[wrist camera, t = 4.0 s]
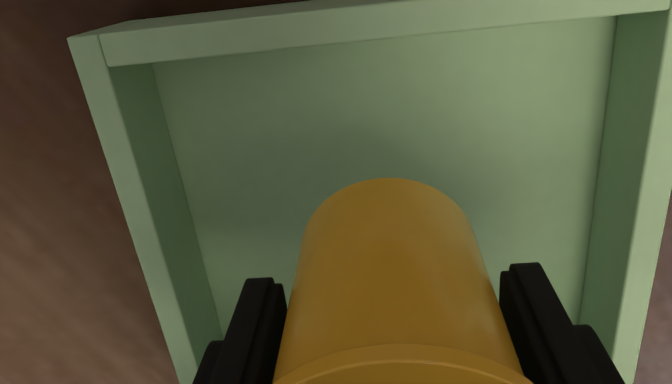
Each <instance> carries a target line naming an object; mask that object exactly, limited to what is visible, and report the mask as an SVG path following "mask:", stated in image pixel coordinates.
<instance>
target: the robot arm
mask: <svg viewBox="0 0 672 384" xmlns="http://www.w3.org/2000/svg"><path fill="white" fill-rule="evenodd" d="M499 306H500V308H501V311H502V314H503V317H504V320H505V322H506V325H507V328H508V331H509V334H510V337H511V339H512V342H513V345H514V348H515V351H516V354H517V356H518V359H519V362H520V365H521V368H522V370H523V373H524V376H525V377H526V378H527V379H529V380H530V381H531V382H532V383H534V384H625V382H624V380H623V379H622V377H621V375H620V373H619V372H618V370H617V368H616V366H615V365H614V363H613V361H612V360H611V358H610V356H609V354H608V353H607V351H606V349H605V348H604V346H603V344H602V342H601V341H600V339H599V337H598V336H597V334H596V332H595V331H594V330H593V328H592V327H591V326H589V325H588V324H581V325H573V324H572V322H571V320H570V318H569V316H568V314H567V313H566V311H565V309H564V307H563V305H562V303H561V301H560V299H559V298H558V296H557V294H556V292H555V290H554V288H553V286H552V284H551V283H550V281H549V279H548V277H547V275H546V273H545V271H544V270H543V268H542V266H541V264H540V263H538V262H530V263H512V264H510V266H509V271H501V273H500V287H499ZM287 310H288V309H287V303H286V298H285V293H284V288H283V285H282V283H275V282H274V279H273V278H272V277H263V278H248V279H246V281H245V283H244V285H243V288H242V291H241V294H240V296H239V299H238V302H237V305H236V308H235V310H234V313H233V316H232V319H231V321H230V324H229V327H228V330H227V332H226V335H225V338H224V340H214V341H211V342H210V343H209V344H208V346H207V348H206V350H205V353H204V355H203V358H202V360H201V363H200V365H199V368H198V370H197V373H196V375H195V378H194V380H193V383H192V384H272V383H273V378H274V373H275V368H276V363H277V359H278V354H279V349H280V344H281V339H282V334H283V329H284V324H285V320H286V315H287Z"/></svg>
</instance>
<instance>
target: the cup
mask: <svg viewBox="0 0 672 384" xmlns="http://www.w3.org/2000/svg"><path fill="white" fill-rule="evenodd" d="M272 384H534V383H532V382H531V381H530V380H529V379H527V378H526V377H525V376H524V373H523V370H522V368H521V365H520V362H519V359H518V356H517V354H516V351H515V348H514V345H513V342H512V339H511V337H510V334H509V331H508V328H507V325H506V322H505V320H504V317H503V314H502V311H501V308H500V306H499V303H498V300H497V297H496V294H495V291H494V289H493V286H492V283H491V280H490V277H489V274H488V272H487V269H486V266H485V263H484V260H483V258H482V255H481V252H480V249H479V246H478V243H477V241H476V238H475V235H474V232H473V229H472V227H471V224H470V222H469V220H468V219H467V217H466V215H465V214H464V212H463V211H462V210H461V209H460V207H459V206H458V205H457V204H456V203H455V202H454V201H453V200H452V199H451V198H449V197H448V196H447V195H445V194H444V193H442V192H441V191H439V190H437V189H435V188H433V187H431V186H429V185H426V184H423V183H421V182H418V181H413V180H409V179H403V178H376V179H369V180H365V181H361V182H357V183H355V184H352V185H350V186H347V187H345V188H343V189H341V190H340V191H338V192H336V193H334V194H333V195H332V196H330V197H329V198H328V199H326V200H325V201H324V202H323V203H322V204H321V205H320V206H319V207H318V208H317V209H316V211H315V212H314V213H313V214H312V216H311V218H310V219H309V221H308V223H307V225H306V228H305V230H304V233H303V237H302V242H301V246H300V251H299V256H298V261H297V266H296V271H295V276H294V281H293V285H292V290H291V295H290V300H289V305H288V310H287V315H286V320H285V324H284V329H283V334H282V339H281V344H280V349H279V354H278V359H277V363H276V368H275V373H274V378H273V383H272Z"/></svg>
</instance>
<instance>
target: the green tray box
mask: <svg viewBox="0 0 672 384" xmlns="http://www.w3.org/2000/svg"><path fill="white" fill-rule="evenodd" d="M67 42H68V45H69V48H70V51H71V54H72V57H73V60H74V63H75V66H76V69H77V72H78V75H79V78H80V81H81V84H82V87H83V90H84V93H85V96H86V99H87V102H88V106H89V109H90V112H91V115H92V118H93V121H94V124H95V127H96V130H97V133H98V136H99V139H100V142H101V145H102V148H103V151H104V154H105V157H106V160H107V163H108V166H109V170H110V173H111V176H112V179H113V182H114V185H115V188H116V191H117V194H118V197H119V200H120V203H121V206H122V209H123V212H124V215H125V218H126V221H127V224H128V227H129V230H130V234H131V237H132V240H133V243H134V246H135V249H136V252H137V255H138V258H139V261H140V264H141V267H142V270H143V273H144V276H145V279H146V282H147V285H148V288H149V291H150V294H151V298H152V301H153V304H154V307H155V310H156V313H157V316H158V319H159V322H160V325H161V328H162V331H163V334H164V337H165V340H166V343H167V346H168V349H169V352H170V355H171V358H172V362H173V365H174V368H175V371H176V374H177V377H178V380H179V383H180V384H192V383H193V380H194V378H195V375H196V373H197V370H198V368H199V365H200V363H201V360H202V358H203V355H204V353H205V350H206V348H207V346H208V344H209V343H210V342H211V341H214V340H224V338H225V335H226V332H227V330H228V327H229V324H230V321H231V319H232V316H233V313H234V310H235V308H236V305H237V302H238V299H239V296H240V294H241V291H242V288H243V285H244V283H245V281H246V279H248V278H263V277H272V278H273V279H274V282H275V283H282V285H283V288H284V293H285V298H286V303H287V309H288V305H289V300H290V295H291V290H292V285H293V281H294V276H295V271H296V266H297V261H298V256H299V251H300V246H301V242H302V237H303V233H304V230H305V228H306V225H307V223H308V221H309V219H310V218H311V216H312V214H313V213H314V212H315V211H316V209H317V208H318V207H319V206H320V205H321V204H322V203H323V202H324V201H325V200H326V199H328V198H329V197H330V196H332V195H333V194H334V193H336V192H338V191H340V190H341V189H343V188H345V187H347V186H350V185H352V184H355V183H357V182H361V181H365V180H369V179H376V178H403V179H409V180H413V181H418V182H421V183H423V184H426V185H429V186H431V187H433V188H435V189H437V190H439V191H441V192H442V193H444V194H445V195H447V196H448V197H449V198H451V199H452V200H453V201H454V202H455V203H456V204H457V205H458V206H459V207H460V209H461V210H462V211H463V212H464V214H465V215H466V217H467V219H468V220H469V222H470V224H471V227H472V229H473V232H474V235H475V238H476V241H477V243H478V246H479V249H480V252H481V255H482V258H483V260H484V263H485V266H486V269H487V272H488V274H489V277H490V280H491V283H492V286H493V289H494V291H495V294H496V297H497V300H498V303H499V287H500V273H501V271H509V266H510V264H512V263H530V262H538V263H540V264H541V266H542V268H543V270H544V271H545V273H546V275H547V277H548V279H549V281H550V283H551V284H552V286H553V288H554V290H555V292H556V294H557V296H558V298H559V299H560V301H561V303H562V305H563V307H564V309H565V311H566V313H567V314H568V316H569V318H570V320H571V322H572V324H573V325H581V324H588V325H589V326H591V327H592V328H593V330H594V331H595V332H596V334H597V336H598V337H599V339H600V341H601V342H602V344H603V346H604V348H605V349H606V351H607V353H608V354H609V356H610V358H611V360H612V361H613V363H614V365H615V366H616V368H617V370H618V372H619V373H620V375H621V377H622V379H623V380H624V382H625V384H633V381H634V376H635V371H636V366H637V361H638V356H639V351H640V346H641V341H642V335H643V330H644V325H645V320H646V315H647V310H648V305H649V300H650V295H651V290H652V285H653V280H654V275H655V270H656V265H657V260H658V255H659V249H660V244H661V239H662V234H663V229H664V224H665V219H666V214H667V209H668V204H669V199H670V194H671V189H672V0H309V1H300V2H292V3H283V4H274V5H265V6H256V7H247V8H238V9H229V10H220V11H211V12H202V13H193V14H184V15H176V16H167V17H158V18H149V19H140V20H131V21H125V22H122V23H118V24H114V25H110V26H107V27H103V28H99V29H96V30H92V31H89V32H85V33H81V34H78V35H74V36H71V37H68V38H67Z"/></svg>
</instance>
